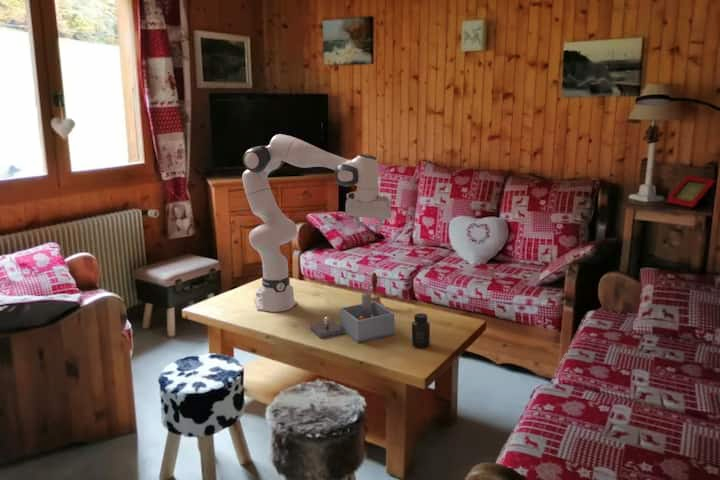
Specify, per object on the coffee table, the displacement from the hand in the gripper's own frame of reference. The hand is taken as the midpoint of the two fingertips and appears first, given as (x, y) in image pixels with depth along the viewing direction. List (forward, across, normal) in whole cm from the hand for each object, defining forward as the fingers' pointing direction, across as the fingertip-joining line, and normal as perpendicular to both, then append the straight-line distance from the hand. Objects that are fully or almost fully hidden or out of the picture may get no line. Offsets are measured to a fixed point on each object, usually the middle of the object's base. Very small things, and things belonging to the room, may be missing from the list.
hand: (368, 228), depth 240 cm
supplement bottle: (+39, -31, +14) cm, 52 cm away
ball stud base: (+39, +7, +22) cm, 45 cm away
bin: (+39, -7, +13) cm, 42 cm away
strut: (+38, -7, +14) cm, 41 cm away
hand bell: (+39, +5, -12) cm, 41 cm away
